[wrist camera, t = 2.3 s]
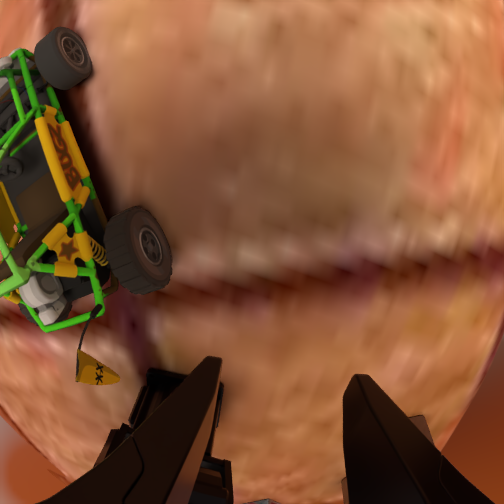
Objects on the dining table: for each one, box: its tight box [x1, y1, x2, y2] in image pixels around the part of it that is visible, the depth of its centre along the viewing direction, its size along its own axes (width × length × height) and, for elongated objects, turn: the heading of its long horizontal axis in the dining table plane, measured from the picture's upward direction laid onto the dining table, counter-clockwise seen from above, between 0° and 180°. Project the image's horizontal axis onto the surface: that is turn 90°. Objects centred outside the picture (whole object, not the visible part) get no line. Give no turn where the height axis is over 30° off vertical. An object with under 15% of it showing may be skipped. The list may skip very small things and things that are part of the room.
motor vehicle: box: [0, 27, 172, 385], centre depth 14 cm, size 12×19×11 cm, turn 22°
